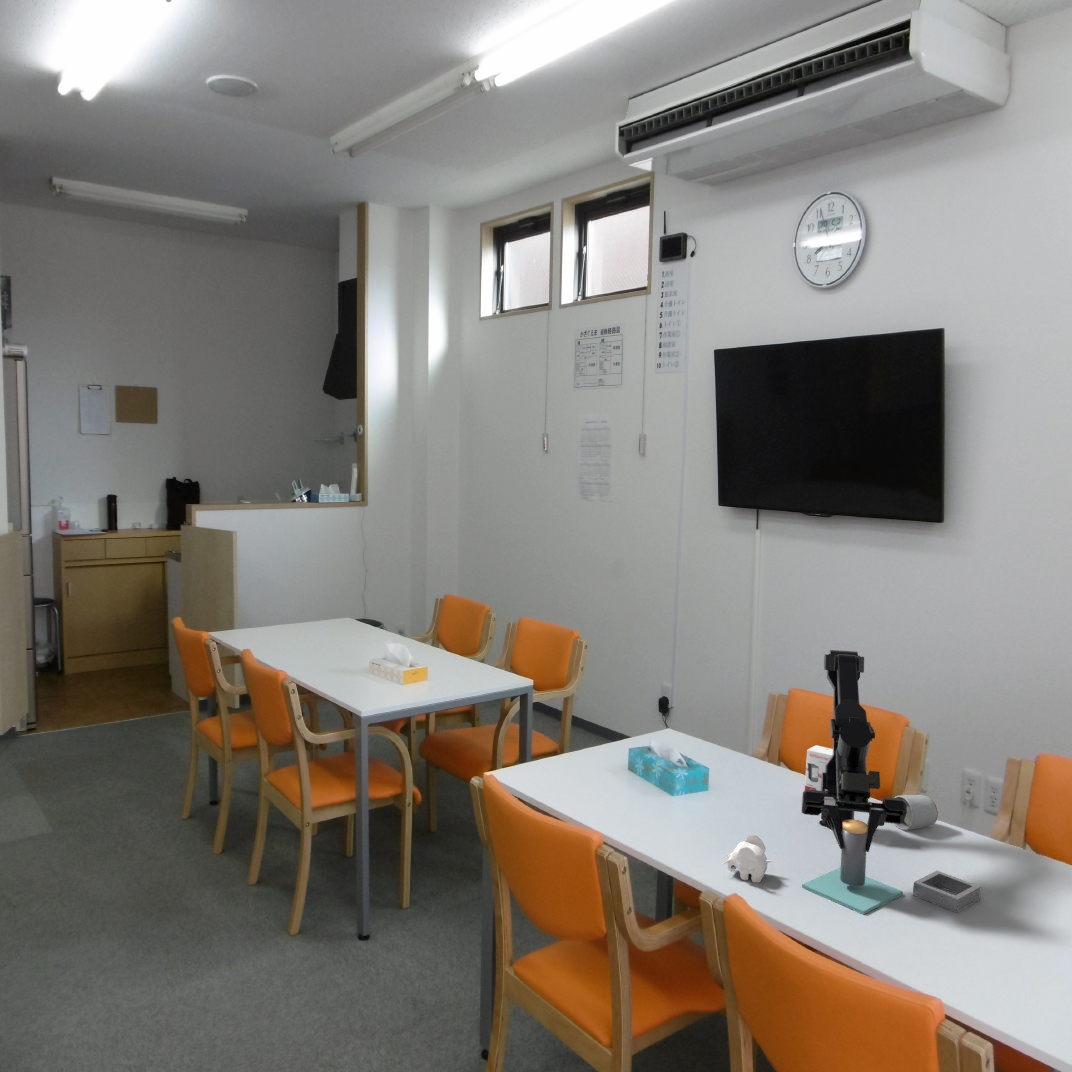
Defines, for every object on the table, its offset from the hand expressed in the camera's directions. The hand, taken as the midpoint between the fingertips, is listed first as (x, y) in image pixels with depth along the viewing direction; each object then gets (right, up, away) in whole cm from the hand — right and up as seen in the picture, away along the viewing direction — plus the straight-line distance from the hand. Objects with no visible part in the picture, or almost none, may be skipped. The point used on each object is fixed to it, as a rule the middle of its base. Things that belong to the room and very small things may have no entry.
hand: (854, 849), depth 169 cm
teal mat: (0, -8, +2) cm, 9 cm away
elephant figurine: (-18, -8, +8) cm, 21 cm away
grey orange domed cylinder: (0, -6, +2) cm, 7 cm away
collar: (+17, -9, 0) cm, 19 cm away
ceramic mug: (+24, -7, +35) cm, 43 cm away
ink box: (+11, -5, +50) cm, 52 cm away
